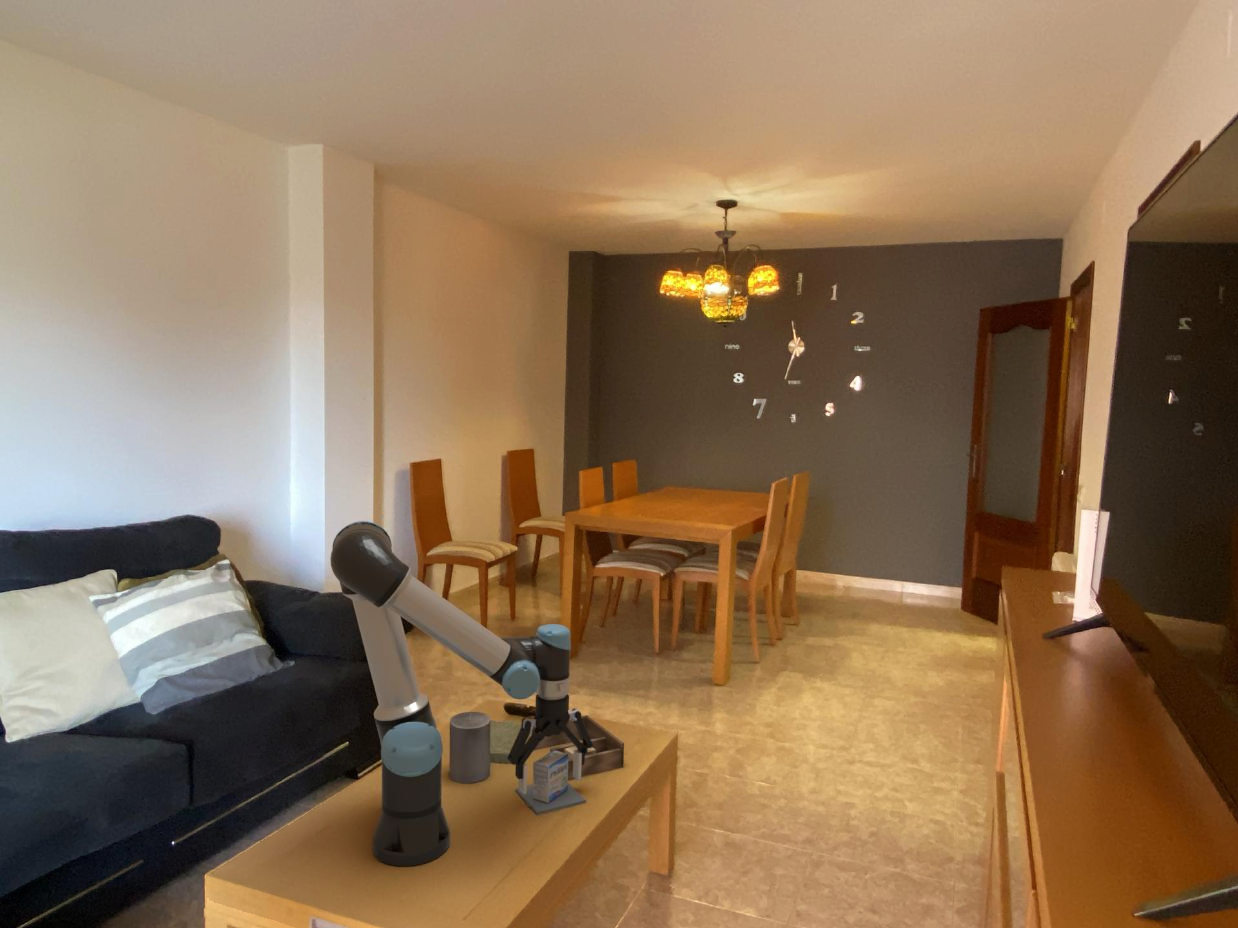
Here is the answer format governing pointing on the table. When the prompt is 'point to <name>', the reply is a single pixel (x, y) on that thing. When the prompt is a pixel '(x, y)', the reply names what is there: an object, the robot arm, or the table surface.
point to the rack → (603, 742)
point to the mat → (561, 801)
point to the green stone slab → (503, 740)
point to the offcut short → (571, 749)
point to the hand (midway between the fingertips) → (550, 784)
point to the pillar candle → (469, 747)
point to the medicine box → (550, 776)
